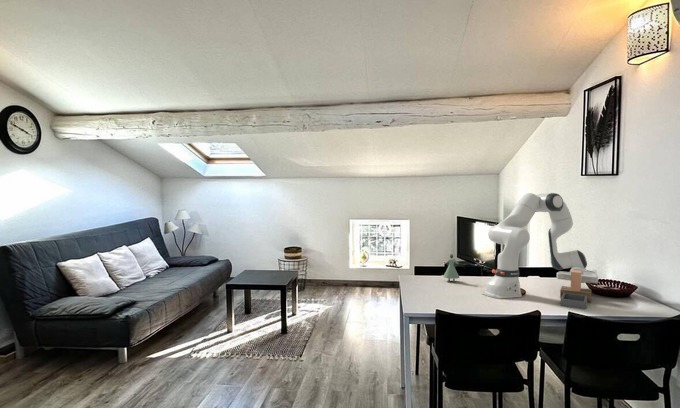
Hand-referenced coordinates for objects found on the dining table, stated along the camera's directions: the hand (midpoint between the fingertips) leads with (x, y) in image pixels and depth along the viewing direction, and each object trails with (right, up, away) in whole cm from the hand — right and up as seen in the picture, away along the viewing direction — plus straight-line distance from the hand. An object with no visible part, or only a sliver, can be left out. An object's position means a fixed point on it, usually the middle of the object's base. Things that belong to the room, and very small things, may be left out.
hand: (576, 279), depth 215 cm
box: (-9, -10, -13) cm, 19 cm away
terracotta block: (-2, -5, -2) cm, 6 cm away
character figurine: (-57, -9, +39) cm, 70 cm away
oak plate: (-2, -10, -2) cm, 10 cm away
